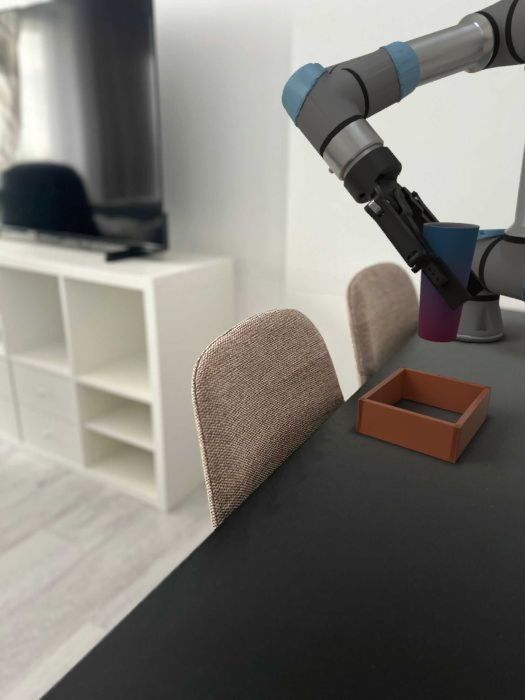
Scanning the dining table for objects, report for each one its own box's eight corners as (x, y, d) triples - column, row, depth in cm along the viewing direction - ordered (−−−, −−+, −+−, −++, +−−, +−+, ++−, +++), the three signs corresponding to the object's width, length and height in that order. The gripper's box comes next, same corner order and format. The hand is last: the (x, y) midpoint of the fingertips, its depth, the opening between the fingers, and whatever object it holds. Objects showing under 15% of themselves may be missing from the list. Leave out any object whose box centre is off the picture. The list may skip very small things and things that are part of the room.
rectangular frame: (398, 395, 83) (402, 366, 82) (486, 418, 76) (491, 387, 74) (355, 431, 72) (358, 399, 70) (454, 463, 64) (460, 427, 62)
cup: (467, 334, 71) (483, 224, 66) (457, 348, 66) (474, 229, 61) (418, 326, 75) (430, 221, 70) (405, 339, 69) (417, 225, 64)
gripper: (373, 183, 79) (467, 301, 76) (310, 186, 65) (422, 332, 61) (409, 145, 75) (511, 270, 71) (350, 140, 60) (474, 295, 57)
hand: (470, 298), depth 66 cm, fingers closed on cup, 6 cm apart
